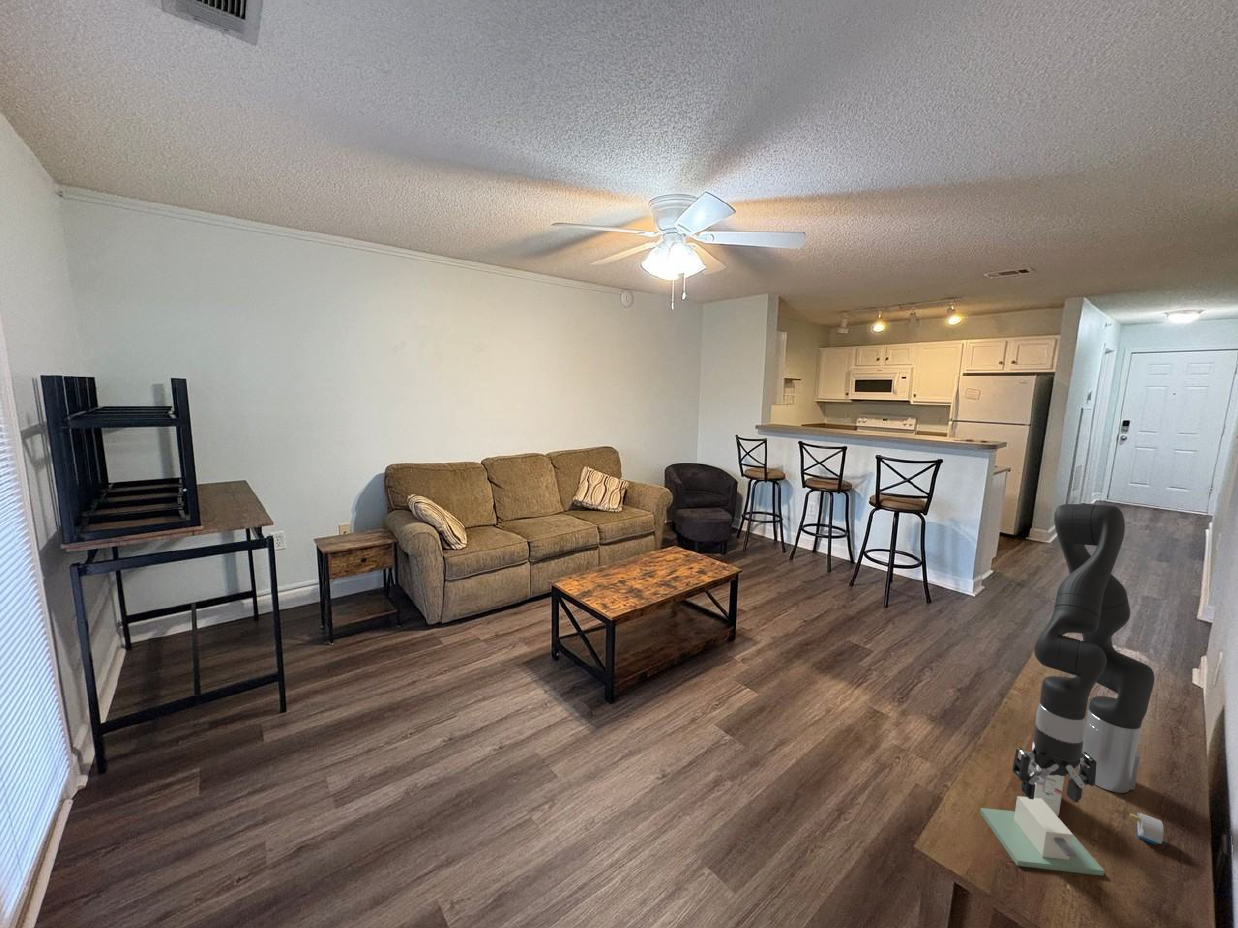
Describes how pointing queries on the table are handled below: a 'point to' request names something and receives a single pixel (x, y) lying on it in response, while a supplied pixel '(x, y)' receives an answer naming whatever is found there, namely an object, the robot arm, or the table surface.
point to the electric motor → (1149, 828)
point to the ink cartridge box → (1049, 789)
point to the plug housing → (1043, 828)
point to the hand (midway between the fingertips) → (1050, 797)
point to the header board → (1027, 853)
